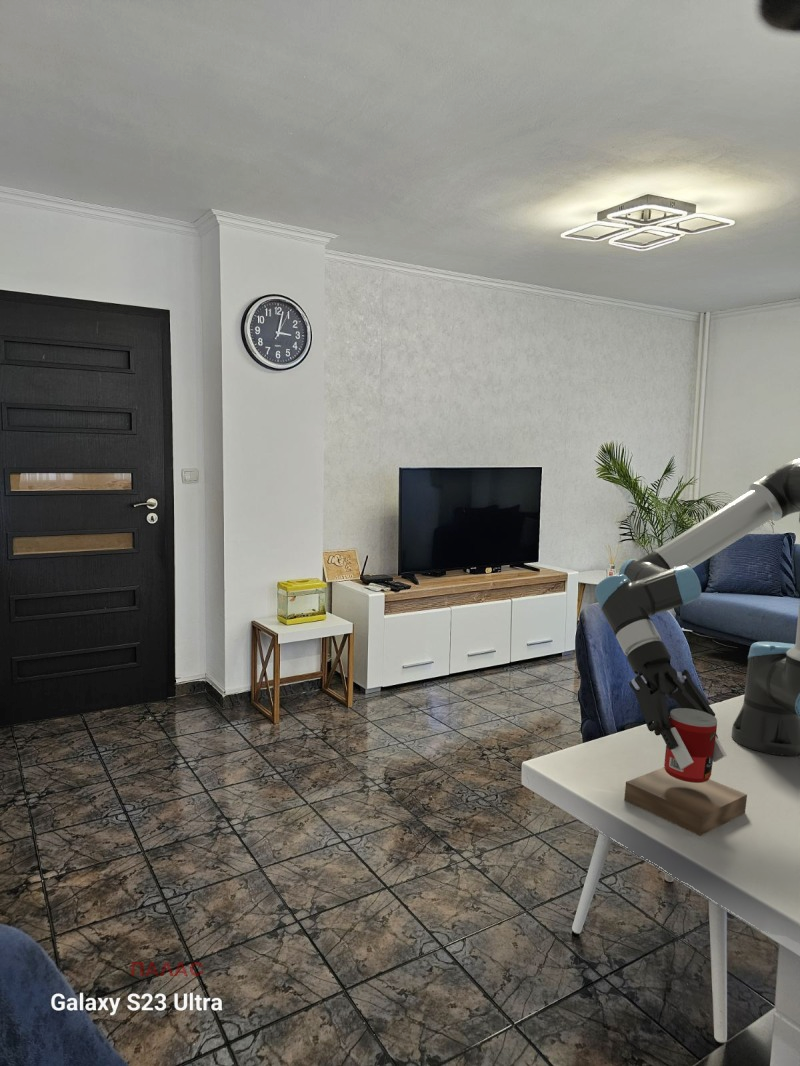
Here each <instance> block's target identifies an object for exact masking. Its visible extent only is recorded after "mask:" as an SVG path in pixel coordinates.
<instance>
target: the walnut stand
mask: <svg viewBox="0 0 800 1066" xmlns="http://www.w3.org/2000/svg"><path fill="white" fill-rule="evenodd" d="M747 798H748V794H747V793H745V792H743V791H739V790H737V789H734V788H732V787H729V786H727V785H724V784H722V783H720V782H718V781H715V780H712V779H710V778H709V780H708V781H706V782H702V783H693V782H686V781H682V780H679V779H676V778H674V777H672V776H670V775H669V774H668V773H667V772H666V771H665V767H664V766H663V767H660V768H658V769H656V770H653V771H651V772H648V773H645V774H642V775H640V776H638V777H635V778H633V779H630V780H627V781H626V782H625V787H624V798H623V799H624V801H625V802H627V803H630V804H631V805H633V806H635V807H638V808H640V809H642V810H644V811H646V812H648V813H651V814H653V815H655V816H657V817H660V818H662V819H664V820H665V821H668V822H669V823H672V824H674V825H676V826H678V827H681V828H683V829H684V830H687V831H689V832H691V833H693V834H696V835H697V836H700V837H701V836H704V835H705V834H707V833H708V832H711V831H712V830H715V829H717V828H719V827H721V826H722V825H724V824H726V823H728V822H730V821H733V820H735V819H736V818H738V817H740V816H742V815H744V814H746V810H747V809H746V807H747V801H748V800H747Z"/></svg>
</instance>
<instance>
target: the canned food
mask: <svg viewBox="0 0 800 1066" xmlns="http://www.w3.org/2000/svg"><path fill="white" fill-rule="evenodd" d="M669 719H670V725H671V727H670V729H671V728H674V727H675V728H676V730H677V731H678V733H679V735H680V737H681V739H682V741H683V743H684V745H685V747H686V748H687V750H688V752H689V754H690V756H691V758H692V760H693V763H692V764H690V765H689V766H687V767H685V768H684V769H680V767H679V765H678V763H677V761H676V759H675V757H674V755H673V753H672V751H671V750H669V748H668V747H667V745H666V744H665V745H666V746H665V755H664V764H663V765H664V766H663V767H665V771H666V772H667V773H668V774H669V775H670V776H672V777H674V778H676V779H679V780H682V781H686V782H693V783H702V782H706V781H708V780H709V779H710V778H711V775H712V769H713V763H714V762H713V755H714V747H715V739H716V734H717V728H718V727H717V726H718V719H717V717H716V716H715V717H714V716H712V715H711V714H708V713H706V712H703V711H699V710H695V709H688V708H682V707H678V708H673V709H671V710H670V711H669Z"/></svg>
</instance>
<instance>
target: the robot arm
mask: <svg viewBox="0 0 800 1066" xmlns="http://www.w3.org/2000/svg"><path fill="white" fill-rule="evenodd" d="M795 513H800V457H798V458H795V459H793V460H790V461H788V462H786V463H783V464H782V465H781V466H779V467H778V466H777V468H774V469H773V470H771V471H770V472H768V473H767V474H764V475H763V476H762V477H761V478H758V479H757V480H755V481H753V482H752V483H751V484H749V486H748V491H747V492H745V493H743V494H742V495H741V496H738V497H737V498H736V499H734V500H733V501H731V502H729V503H727V504H726V505H725V506H722V507H721V508H720V509H718V510H717V511H715V512H714V513H712V514H710V515H709V516H707V517H706V518H704V519H702V520H700V521H699V522H698V523H696V524H694V525H693V526H691V527H690V528H688V529H686V530H685V531H683V532H682V533H680V534H679V535H677V536H676V537H674V538H672V539H671V540H669V541H667V542H666V543H665V544H663V545H661V546H660V547H658V548H656V549H655V550H653V551H652V552H650V553H648V554H647V555H645V556H643V557H641V558H631V559H627V560H626V561H625V562H623V563H622V565H621V566H620V568H619V572H618V574H612V575H609V576H607V577H605V578H604V579H602V580H600V581H599V583H598V584H597V585H595V589H594V596H595V598H596V600H597V604H598V606H599V608H600V611H601V613H602V614H603V616H604V617H605V619H606V621H607V623H608V625H609V626H610V628H611V630H612V632H613V634H614V636H615V638H616V639H617V642H618V644H619V646H620V648H621V650H622V652H623V653H624V656H625V655H626V660H627V662H628V664H629V666H630V669H631V670H632V672H633V673H634V675H636V676H635V677H634V678H632V679H631V680H630V681H629V682H628V684H629V687H630V688H631V690H632V691H633V693H634V695H635V697H636V699H637V703H638V705H639V708H640V710H641V713H642V717H643V719H644V722H645V724H646V727H647V729H648V731H649V732H654V734H655V735H656V736H657V737H659V736H660V735H661V737H662V740H663V741H664V743H665V745H667V747H668V748H669V750H671V751H672V753H673V755H674V757H675V759H676V761H677V763H678V765H679V767H680V769H684V768H685V767H687V766H689V765H690V764H692V763H693V760H692V758H691V756H690V754H689V752H688V750H687V748H686V747H685V745H684V743H683V741H682V739H681V737H680V735H679V733H678V731H677V730H676V728H675V727H674V728H671V729H670V727H671V725H670V719H669V715H670V713H669V711H668V710H669V709H668V705H667V697H666V695H667V696H668V697H669V698H670V699H672V700H674V701H675V702H676V703H677V705H679V706H680V708H688V709H695V710H699V711H703V712H706V713H708V714H711V715H712V716H714V717H715V718H716V713H715V712H714V711H713V708H712V707H711V706H710V705H709V703H708V701H707V700H706V699H705V697H704V696H703V694H702V692H701V691H700V690H699V689H698V687H697V685H696V684H695V683H694V681H693V679H692V677H691V674H690V671H688V669H684V670H682V671H677V670H676V669H675V668H674V667H673V665H672V664H671V659H672V657H671V656H672V655H671V654H670V652H669V650H668V648H667V646H666V645H665V643H664V642H663V641H661V640H662V637H661V635H660V634H659V632H658V630H657V628H656V626H655V624H654V623H653V621H652V619H651V617H652V616H655V615H658V614H660V613H661V614H662V613H665V612H666V611H669V610H673V609H677V608H679V607H682V606H686V605H688V604H689V603H692V602H694V601H697V600H698V599H699V598H700V597H701V595H702V586H701V581H700V579H699V577H698V575H697V573H696V572H695V570H694V569H693V568H696V566H698V565H700V564H702V563H703V562H705V561H707V560H708V559H710V558H711V557H713V556H715V555H716V554H718V553H719V552H721V551H722V550H724V549H726V548H728V547H729V546H730V545H732V544H734V543H735V542H737V541H739V540H740V539H742V538H743V537H745V536H746V535H748V534H749V533H751V532H754V531H755V530H756V529H757V528H759V527H762V526H763V525H764V524H766V523H768V522H769V521H774V522H777V521H780V520H781V519H783V518H784V517H787V516H788V515H793V514H795ZM798 523H799V524H800V515H799V518H798ZM795 634H796V636H795V644H794V643H788V642H787V643H786V642H777V641H757V642H753V643H752V644H751V645H750V648H749V652H748V655H747V667H746V668H747V669H746V676H745V677H746V678H745V688H744V695H743V697H744V698H743V705H742V707H741V708H740V710H739V712H738V714H737V716H736V719H735V720H734V721H733V724H732V726H731V727H732V728H731V738H732V739H733V740H734V741H735V742H737V743H738V744H739V745H742V746H744V747H746V748H748V749H751V750H753V751H757V752H761V753H764V754H768V755H769V754H771V755H775V754H776V756H784V755H789V757H790V755H794V756H800V755H799V754H800V602H799V605H798V615H797V624H796V633H795ZM725 757H727V752H725V749H724V747H723V746H722V745H721V743H720V740H719V737H718V734H717V733H716V739H715V747H714V755H713V763H716V762H718V761H720V760H721V759H723V758H725Z"/></svg>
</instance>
